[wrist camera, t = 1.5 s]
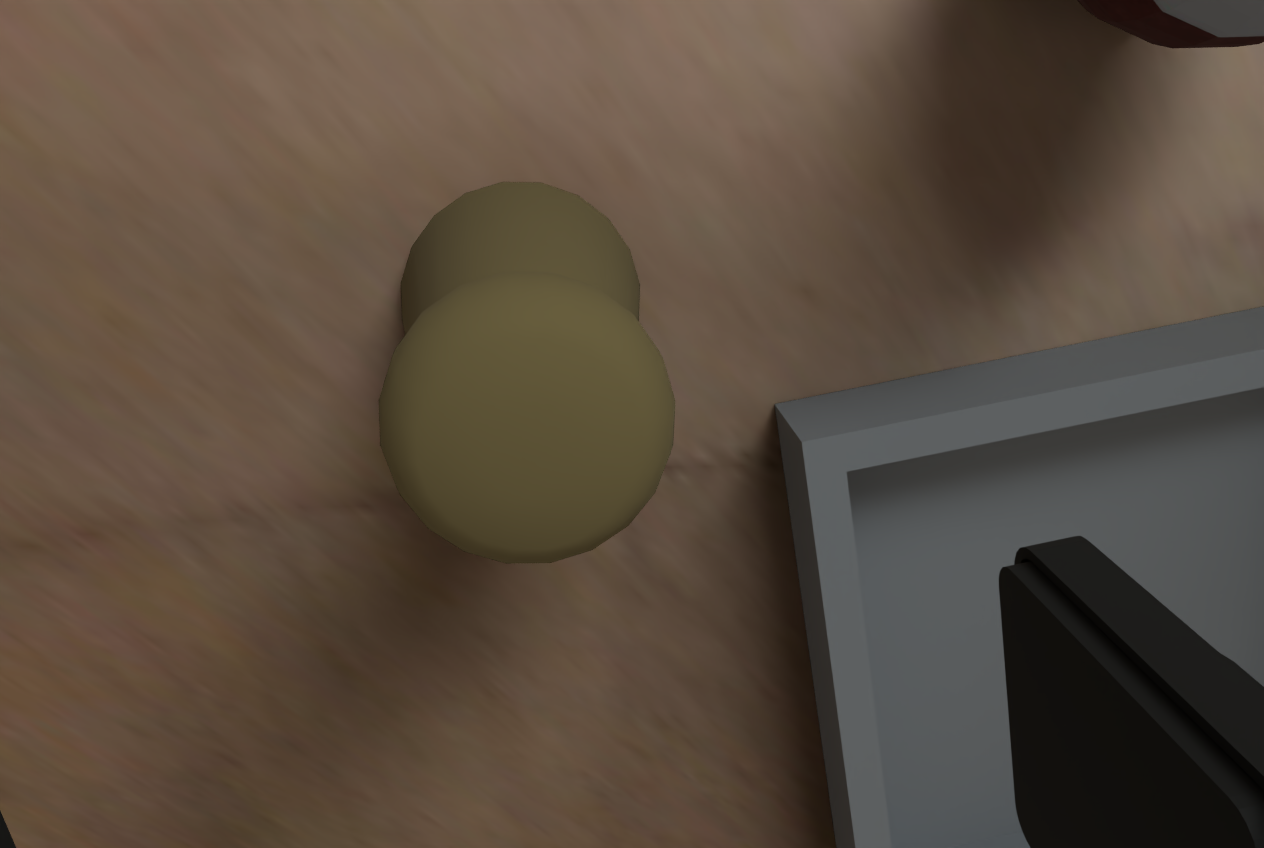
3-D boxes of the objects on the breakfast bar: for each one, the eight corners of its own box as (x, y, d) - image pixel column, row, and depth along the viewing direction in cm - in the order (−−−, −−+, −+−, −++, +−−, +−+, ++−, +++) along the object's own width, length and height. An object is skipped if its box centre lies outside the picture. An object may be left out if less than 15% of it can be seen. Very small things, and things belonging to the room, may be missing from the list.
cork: (616, 431, 31) (673, 637, 20) (385, 397, 30) (321, 594, 19) (661, 204, 29) (749, 302, 19) (417, 160, 28) (364, 238, 18)
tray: (1349, 289, 32) (1432, 315, 29) (1332, 776, 37) (1400, 838, 34) (774, 404, 31) (801, 441, 28) (841, 883, 36) (869, 955, 33)
